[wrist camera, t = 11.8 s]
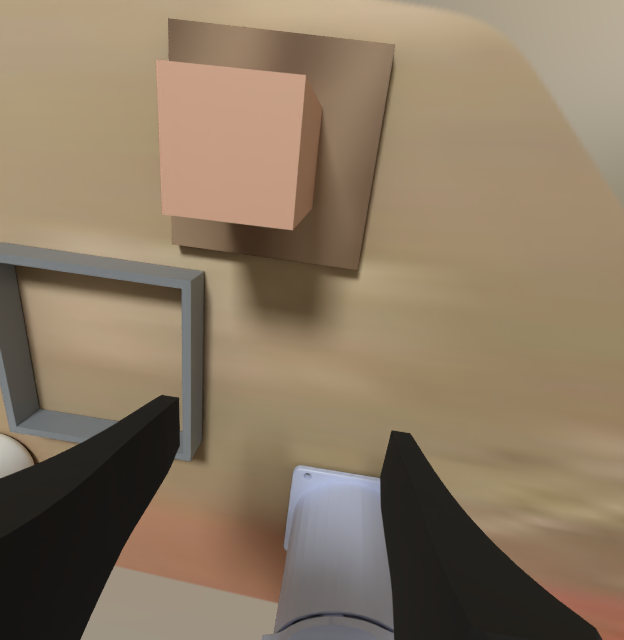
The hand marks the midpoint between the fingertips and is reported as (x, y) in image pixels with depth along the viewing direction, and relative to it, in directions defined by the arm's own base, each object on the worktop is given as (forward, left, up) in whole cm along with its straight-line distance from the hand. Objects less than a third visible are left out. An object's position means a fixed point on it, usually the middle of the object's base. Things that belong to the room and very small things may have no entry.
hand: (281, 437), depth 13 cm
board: (+3, -9, -10) cm, 14 cm away
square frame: (+12, +4, -10) cm, 17 cm away
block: (+3, -9, -10) cm, 13 cm away
